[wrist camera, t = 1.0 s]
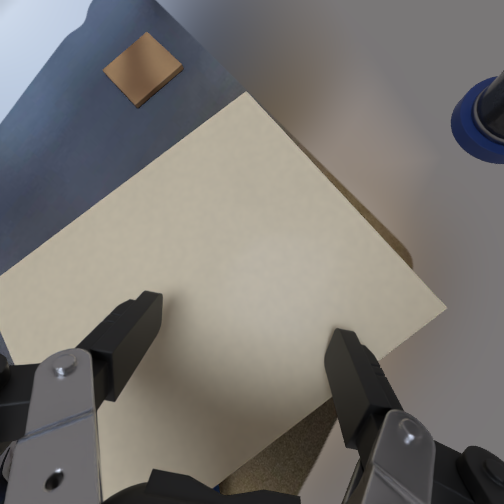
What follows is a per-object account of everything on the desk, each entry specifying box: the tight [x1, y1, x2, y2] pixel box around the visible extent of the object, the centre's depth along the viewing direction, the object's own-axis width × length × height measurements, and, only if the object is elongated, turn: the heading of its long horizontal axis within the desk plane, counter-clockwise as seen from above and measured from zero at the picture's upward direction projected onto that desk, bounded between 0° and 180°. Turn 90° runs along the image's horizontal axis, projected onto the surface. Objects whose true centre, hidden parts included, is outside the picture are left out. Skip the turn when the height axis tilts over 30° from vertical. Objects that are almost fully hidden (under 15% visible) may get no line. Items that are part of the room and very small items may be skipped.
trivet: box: [103, 32, 184, 108], centre depth 39 cm, size 10×10×1 cm
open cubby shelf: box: [0, 92, 447, 501], centre depth 22 cm, size 20×16×19 cm
